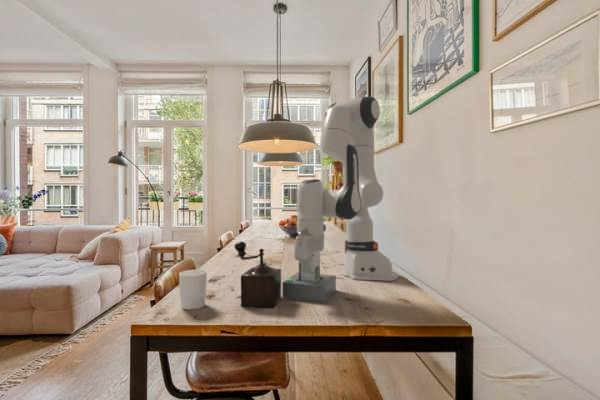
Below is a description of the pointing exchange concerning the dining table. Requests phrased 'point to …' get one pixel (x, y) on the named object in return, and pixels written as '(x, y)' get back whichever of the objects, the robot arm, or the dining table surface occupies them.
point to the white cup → (192, 288)
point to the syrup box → (311, 269)
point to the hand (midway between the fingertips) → (309, 269)
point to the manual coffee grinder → (259, 282)
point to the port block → (309, 288)
